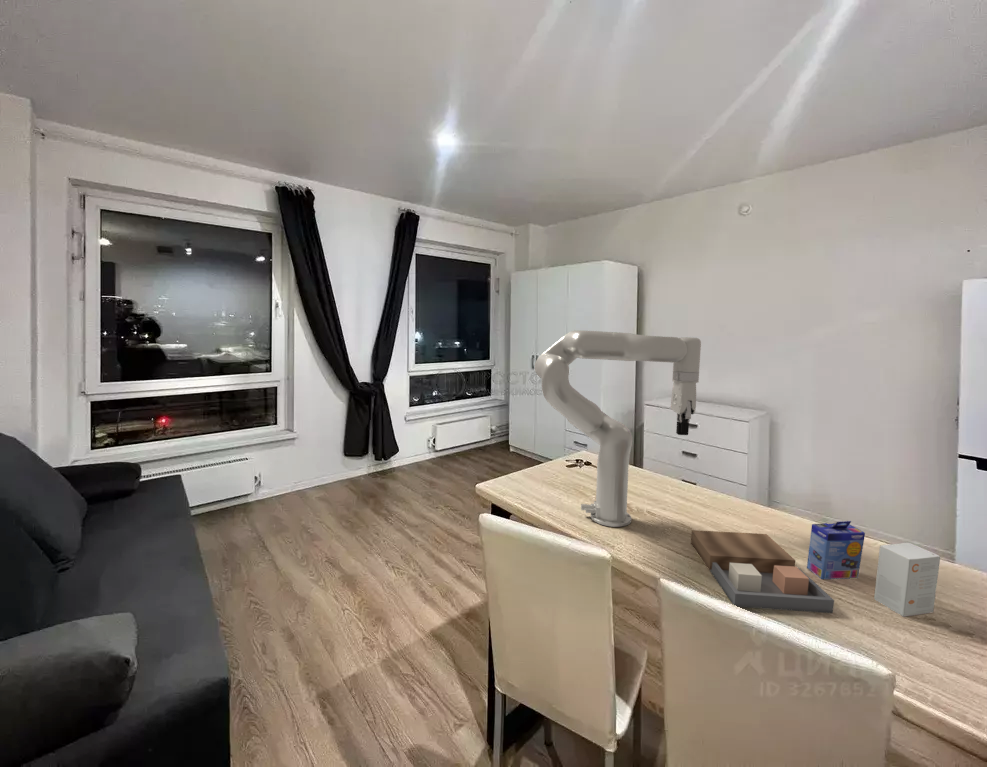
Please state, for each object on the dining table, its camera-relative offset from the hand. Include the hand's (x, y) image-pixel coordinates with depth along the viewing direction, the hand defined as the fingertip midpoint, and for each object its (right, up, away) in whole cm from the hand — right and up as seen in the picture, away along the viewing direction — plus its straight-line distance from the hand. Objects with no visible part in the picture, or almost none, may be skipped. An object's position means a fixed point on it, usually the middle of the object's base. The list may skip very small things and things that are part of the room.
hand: (682, 434), depth 139 cm
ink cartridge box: (+24, -31, -30) cm, 50 cm away
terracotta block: (+9, -27, -38) cm, 48 cm away
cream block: (-1, -27, -37) cm, 46 cm away
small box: (+30, -33, -43) cm, 62 cm away
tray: (+3, -32, -37) cm, 49 cm away
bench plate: (+5, -30, -23) cm, 38 cm away
